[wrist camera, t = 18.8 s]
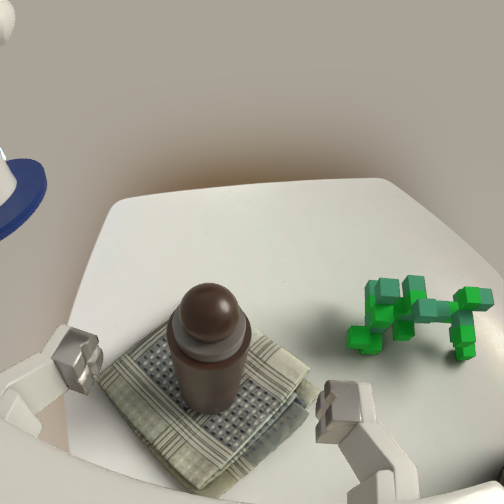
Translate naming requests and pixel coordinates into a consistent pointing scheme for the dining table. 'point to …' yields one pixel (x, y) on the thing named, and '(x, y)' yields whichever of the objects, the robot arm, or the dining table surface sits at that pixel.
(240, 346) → the pepper mill
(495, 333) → the dining table surface
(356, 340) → the building blocks
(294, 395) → the dish towel
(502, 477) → the planter
